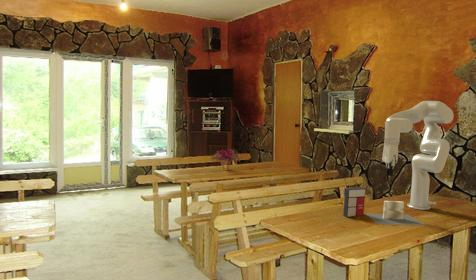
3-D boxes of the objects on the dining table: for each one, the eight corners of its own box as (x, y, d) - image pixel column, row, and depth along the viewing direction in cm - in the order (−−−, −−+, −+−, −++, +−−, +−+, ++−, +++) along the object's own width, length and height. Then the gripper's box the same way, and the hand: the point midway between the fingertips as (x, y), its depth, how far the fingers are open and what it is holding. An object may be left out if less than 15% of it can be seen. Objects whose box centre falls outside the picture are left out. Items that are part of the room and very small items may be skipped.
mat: (408, 216, 225) (408, 214, 225) (425, 227, 207) (425, 225, 206) (364, 214, 225) (364, 213, 225) (377, 225, 206) (377, 223, 206)
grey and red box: (347, 217, 218) (349, 189, 216) (342, 215, 222) (344, 187, 220) (364, 216, 222) (366, 188, 220) (359, 214, 226) (361, 187, 224)
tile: (401, 218, 218) (402, 201, 217) (402, 219, 216) (404, 202, 215) (382, 217, 218) (383, 200, 217) (383, 218, 216) (385, 201, 215)
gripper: (379, 140, 230) (377, 172, 231) (390, 142, 215) (387, 177, 216) (393, 140, 230) (390, 173, 231) (404, 143, 215) (401, 178, 217)
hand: (388, 175), depth 224 cm, fingers closed
